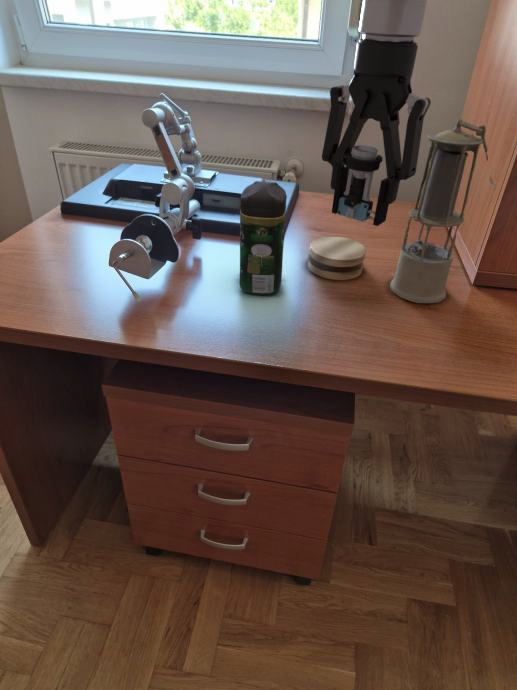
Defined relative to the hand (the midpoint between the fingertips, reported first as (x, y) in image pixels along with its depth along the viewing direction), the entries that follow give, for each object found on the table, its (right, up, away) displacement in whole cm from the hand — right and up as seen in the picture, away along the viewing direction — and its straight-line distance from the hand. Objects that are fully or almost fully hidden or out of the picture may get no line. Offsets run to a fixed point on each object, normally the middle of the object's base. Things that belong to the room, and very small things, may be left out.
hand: (358, 216), depth 73 cm
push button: (0, 0, 0) cm, 0 cm away
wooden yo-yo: (0, -4, +24) cm, 25 cm away
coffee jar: (-15, -8, +17) cm, 24 cm away
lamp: (+16, -10, +18) cm, 26 cm away
